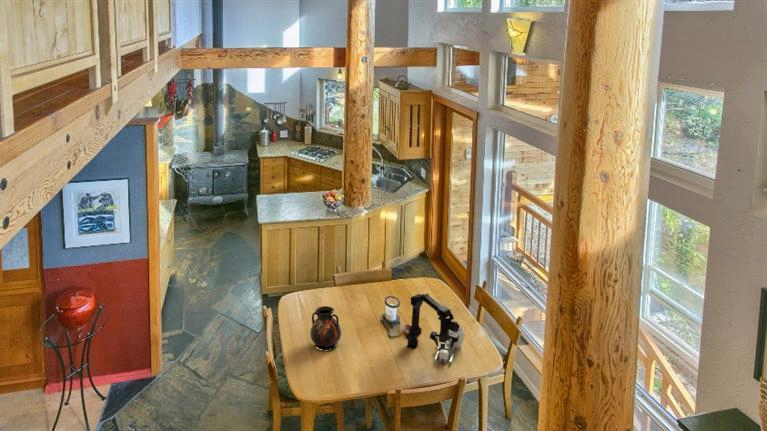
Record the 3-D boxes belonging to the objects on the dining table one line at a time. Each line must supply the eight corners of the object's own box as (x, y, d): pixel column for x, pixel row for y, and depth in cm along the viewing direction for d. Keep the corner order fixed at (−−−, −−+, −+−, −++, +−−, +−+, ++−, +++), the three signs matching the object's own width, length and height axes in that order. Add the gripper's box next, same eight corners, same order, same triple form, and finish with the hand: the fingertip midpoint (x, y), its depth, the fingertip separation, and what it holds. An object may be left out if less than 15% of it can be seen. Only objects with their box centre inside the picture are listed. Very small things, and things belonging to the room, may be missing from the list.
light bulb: (437, 364, 428) (437, 355, 426) (440, 358, 436) (440, 349, 433) (446, 365, 426) (447, 356, 424) (449, 359, 434) (449, 350, 432)
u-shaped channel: (430, 362, 431) (430, 351, 428) (435, 350, 446) (436, 339, 444) (450, 365, 427) (451, 354, 425) (455, 352, 443) (455, 342, 440)
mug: (441, 349, 447) (441, 332, 443) (442, 341, 458) (442, 324, 454) (463, 350, 445) (463, 333, 441) (463, 342, 456) (464, 325, 452)
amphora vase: (306, 352, 445) (304, 315, 437) (316, 337, 465) (315, 301, 457) (336, 355, 441) (334, 318, 432) (345, 340, 460) (344, 304, 452)
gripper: (428, 330, 419) (427, 352, 424) (456, 334, 414) (456, 355, 419) (431, 323, 430) (431, 344, 434) (459, 326, 425) (459, 347, 429)
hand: (444, 348), depth 429 cm, fingers open, 9 cm apart
